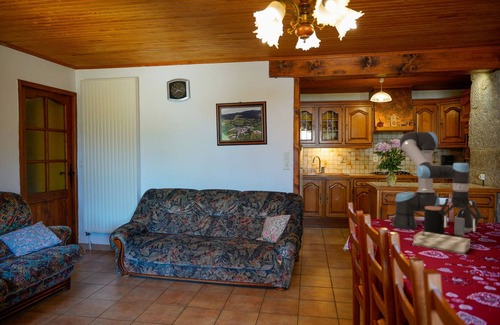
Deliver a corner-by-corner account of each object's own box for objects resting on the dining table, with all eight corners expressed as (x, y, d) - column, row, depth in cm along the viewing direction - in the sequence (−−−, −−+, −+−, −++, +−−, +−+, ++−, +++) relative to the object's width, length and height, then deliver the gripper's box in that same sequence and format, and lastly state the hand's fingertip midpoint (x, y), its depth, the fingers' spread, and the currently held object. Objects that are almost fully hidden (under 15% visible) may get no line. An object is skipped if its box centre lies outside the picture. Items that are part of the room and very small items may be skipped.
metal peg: (452, 244, 183) (453, 218, 182) (454, 242, 187) (455, 216, 186) (463, 246, 179) (464, 219, 179) (465, 244, 183) (465, 218, 183)
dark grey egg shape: (467, 229, 216) (468, 206, 215) (476, 233, 206) (477, 209, 205) (451, 229, 217) (451, 206, 216) (459, 233, 207) (460, 209, 206)
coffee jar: (447, 240, 191) (448, 209, 190) (427, 239, 193) (427, 208, 192) (440, 235, 201) (441, 206, 200) (421, 234, 203) (422, 205, 203)
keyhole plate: (413, 244, 181) (413, 235, 181) (421, 239, 192) (421, 231, 191) (464, 254, 165) (464, 244, 165) (469, 248, 175) (470, 239, 175)
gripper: (433, 189, 188) (432, 226, 188) (486, 193, 171) (485, 234, 171) (437, 188, 193) (436, 224, 194) (489, 192, 176) (488, 231, 177)
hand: (459, 229), depth 183 cm, fingers open, 13 cm apart
